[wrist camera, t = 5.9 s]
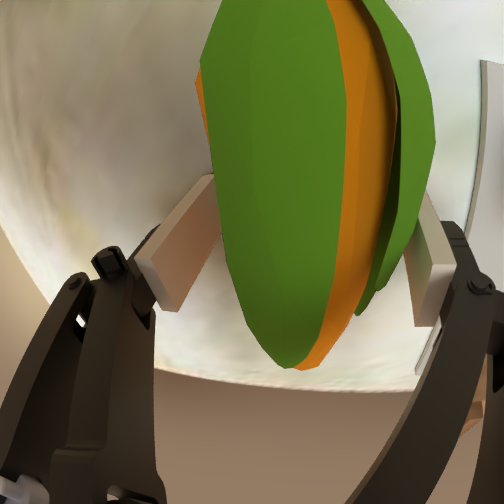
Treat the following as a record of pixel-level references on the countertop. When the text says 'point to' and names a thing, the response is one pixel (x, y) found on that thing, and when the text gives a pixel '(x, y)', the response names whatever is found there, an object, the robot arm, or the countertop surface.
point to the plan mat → (486, 190)
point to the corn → (313, 160)
